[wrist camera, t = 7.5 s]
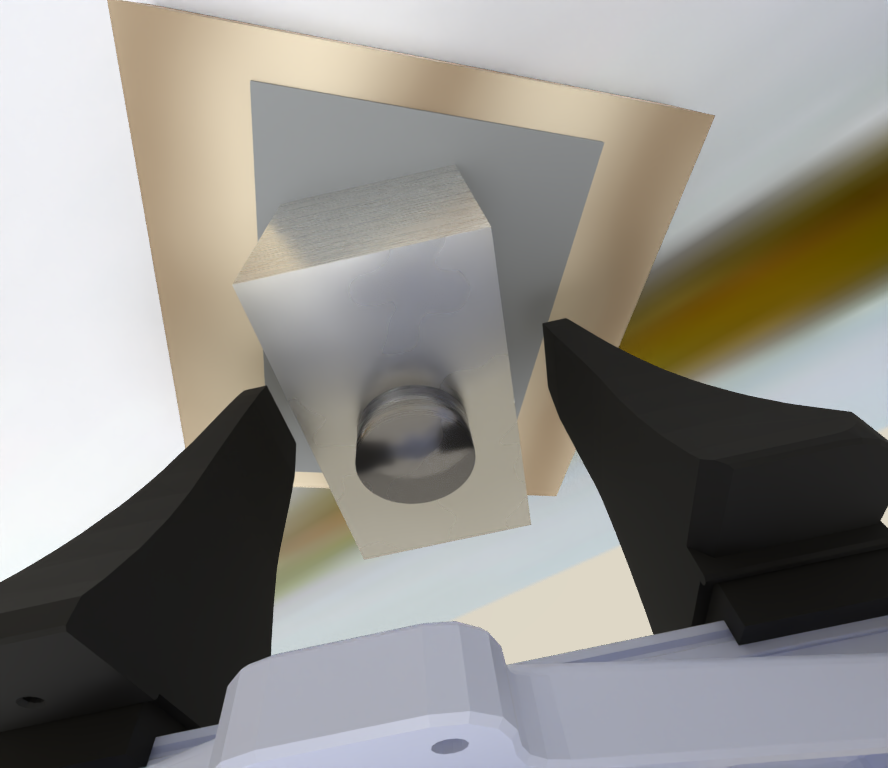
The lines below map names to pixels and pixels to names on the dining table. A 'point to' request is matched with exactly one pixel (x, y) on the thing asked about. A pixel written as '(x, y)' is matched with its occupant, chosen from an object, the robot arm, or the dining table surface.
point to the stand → (376, 159)
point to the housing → (394, 356)
